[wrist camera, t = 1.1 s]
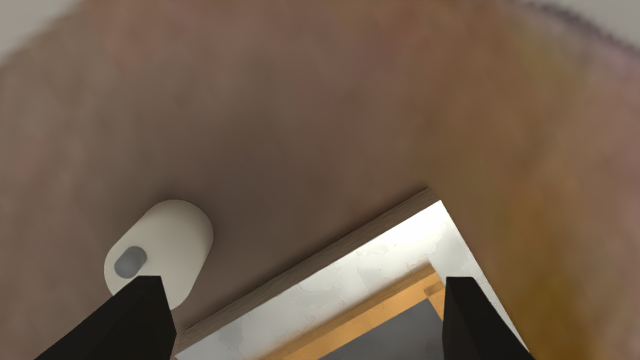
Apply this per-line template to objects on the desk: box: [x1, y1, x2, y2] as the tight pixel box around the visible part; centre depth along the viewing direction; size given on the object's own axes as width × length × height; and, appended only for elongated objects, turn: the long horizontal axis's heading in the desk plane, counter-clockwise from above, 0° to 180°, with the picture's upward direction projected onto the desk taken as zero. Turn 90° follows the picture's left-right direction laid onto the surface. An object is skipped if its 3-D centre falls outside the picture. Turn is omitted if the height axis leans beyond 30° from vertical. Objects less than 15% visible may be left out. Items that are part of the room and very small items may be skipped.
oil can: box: [104, 200, 214, 310], centre depth 24 cm, size 4×4×6 cm
